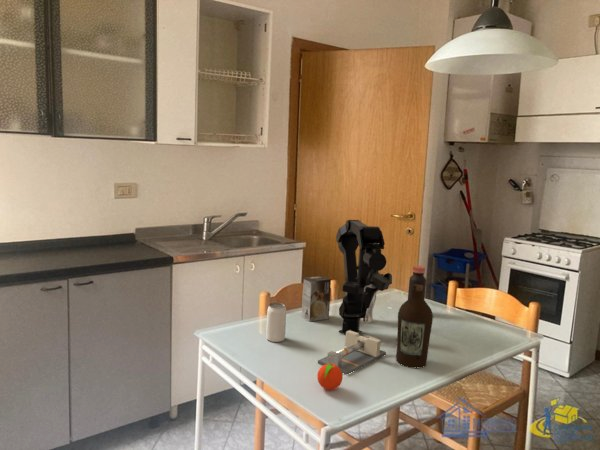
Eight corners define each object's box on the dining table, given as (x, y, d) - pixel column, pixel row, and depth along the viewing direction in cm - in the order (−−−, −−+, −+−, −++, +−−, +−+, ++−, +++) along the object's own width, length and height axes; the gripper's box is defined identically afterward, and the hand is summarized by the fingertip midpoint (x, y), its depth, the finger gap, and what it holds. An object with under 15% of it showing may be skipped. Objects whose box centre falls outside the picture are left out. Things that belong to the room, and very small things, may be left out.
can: (282, 343, 166) (284, 309, 164) (263, 341, 167) (265, 306, 165) (286, 336, 172) (288, 303, 170) (268, 334, 173) (270, 301, 172)
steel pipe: (366, 345, 166) (367, 334, 165) (376, 348, 163) (377, 338, 163) (326, 364, 149) (327, 352, 149) (337, 368, 146) (338, 356, 146)
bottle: (424, 316, 203) (429, 269, 201) (408, 315, 203) (412, 268, 201) (421, 311, 210) (425, 265, 207) (405, 310, 210) (409, 264, 207)
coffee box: (320, 314, 199) (323, 275, 197) (329, 319, 194) (331, 279, 191) (300, 316, 194) (303, 277, 192) (309, 321, 189) (311, 281, 187)
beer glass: (377, 320, 195) (380, 283, 193) (369, 324, 190) (372, 286, 187) (361, 316, 199) (363, 280, 197) (353, 320, 193) (356, 283, 191)
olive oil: (397, 353, 163) (403, 279, 160) (430, 359, 160) (437, 284, 156) (391, 365, 153) (397, 286, 150) (425, 372, 150) (433, 292, 146)
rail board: (357, 345, 168) (357, 342, 168) (385, 354, 161) (386, 351, 161) (317, 363, 151) (317, 360, 151) (347, 375, 144) (347, 371, 144)
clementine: (336, 398, 130) (338, 373, 129) (311, 392, 133) (313, 367, 132) (344, 386, 138) (346, 361, 137) (321, 380, 140) (322, 356, 139)
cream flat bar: (348, 344, 164) (349, 330, 164) (379, 355, 157) (380, 340, 156) (344, 346, 163) (346, 331, 162) (376, 357, 155) (377, 342, 155)
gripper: (372, 272, 151) (368, 321, 153) (402, 264, 165) (398, 309, 167) (343, 265, 158) (339, 312, 160) (374, 258, 172) (370, 301, 175)
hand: (363, 309), depth 165 cm, fingers open, 4 cm apart
